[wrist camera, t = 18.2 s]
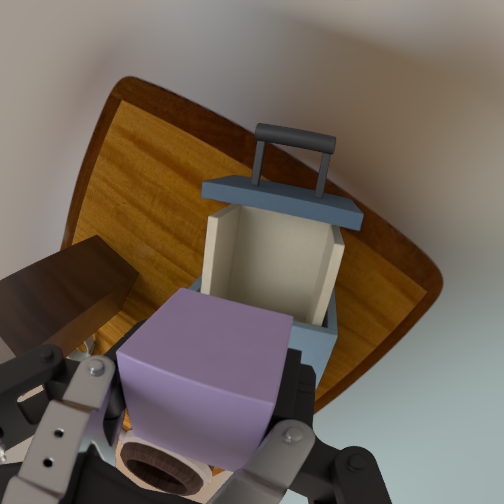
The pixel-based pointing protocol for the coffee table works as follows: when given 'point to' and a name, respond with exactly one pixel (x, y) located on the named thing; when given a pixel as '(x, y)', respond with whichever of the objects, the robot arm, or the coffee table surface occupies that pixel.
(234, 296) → the drawer
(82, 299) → the stand
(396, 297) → the coffee table surface
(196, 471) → the mug
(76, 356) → the wristwatch
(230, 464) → the purple cube
